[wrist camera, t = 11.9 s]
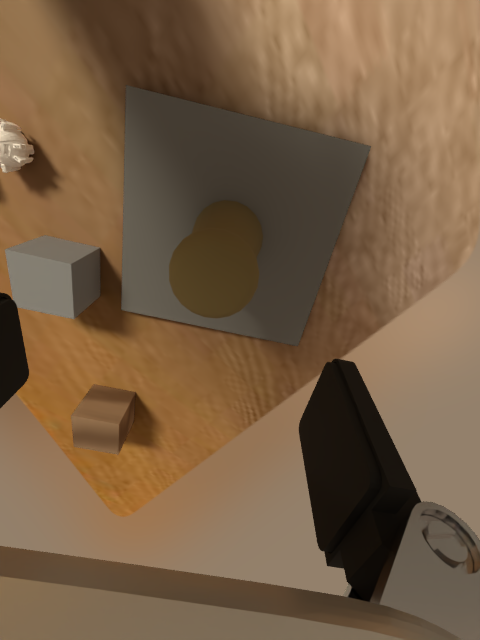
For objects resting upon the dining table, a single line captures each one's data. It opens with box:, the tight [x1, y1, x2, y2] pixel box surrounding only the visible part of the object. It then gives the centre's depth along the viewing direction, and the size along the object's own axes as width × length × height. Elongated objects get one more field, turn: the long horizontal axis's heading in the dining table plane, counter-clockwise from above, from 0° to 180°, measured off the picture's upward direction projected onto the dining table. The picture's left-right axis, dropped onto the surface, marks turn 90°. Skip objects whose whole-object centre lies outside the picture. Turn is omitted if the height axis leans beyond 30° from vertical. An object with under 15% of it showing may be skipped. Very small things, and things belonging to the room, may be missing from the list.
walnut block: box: [71, 384, 136, 455], centre depth 35 cm, size 5×5×5 cm
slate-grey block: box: [5, 235, 100, 319], centre depth 26 cm, size 5×5×5 cm
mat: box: [121, 85, 371, 346], centre depth 26 cm, size 18×18×1 cm
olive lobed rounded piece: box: [169, 200, 263, 319], centre depth 21 cm, size 6×6×11 cm
